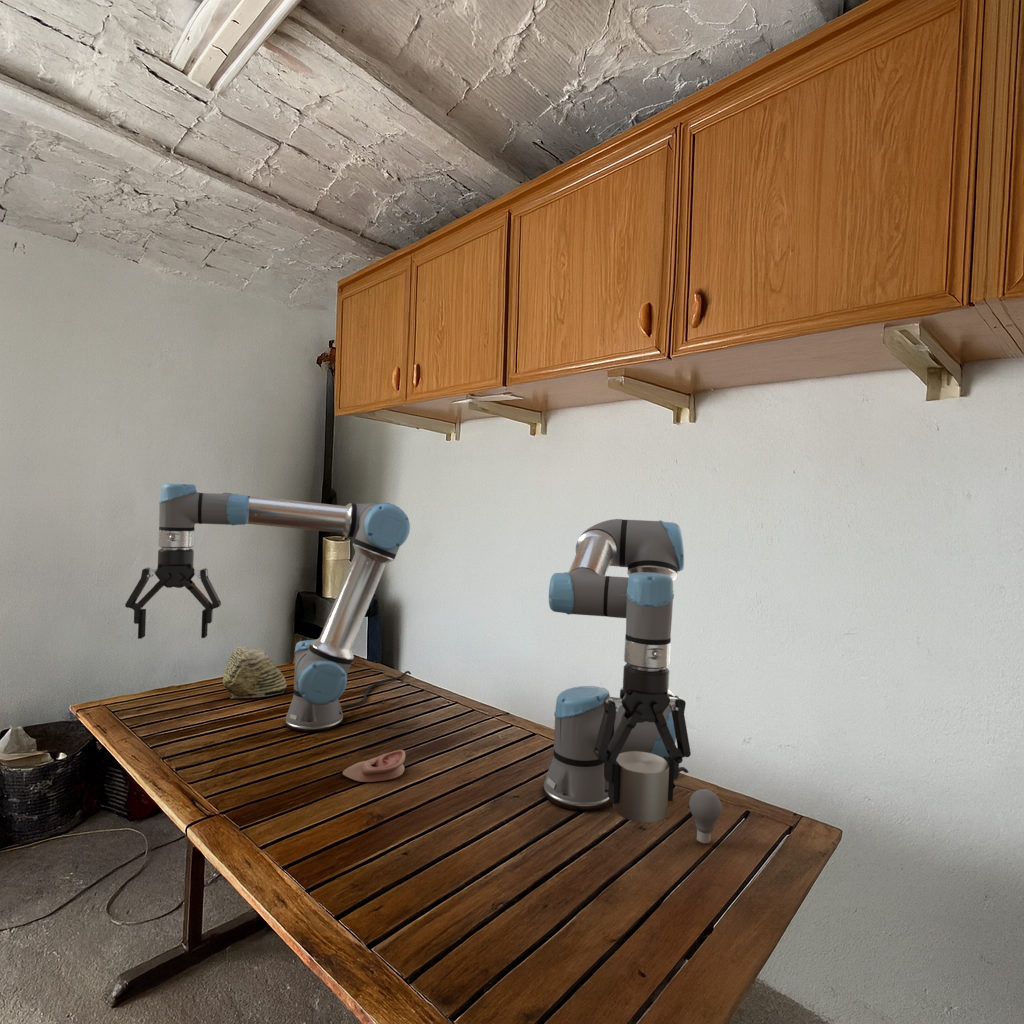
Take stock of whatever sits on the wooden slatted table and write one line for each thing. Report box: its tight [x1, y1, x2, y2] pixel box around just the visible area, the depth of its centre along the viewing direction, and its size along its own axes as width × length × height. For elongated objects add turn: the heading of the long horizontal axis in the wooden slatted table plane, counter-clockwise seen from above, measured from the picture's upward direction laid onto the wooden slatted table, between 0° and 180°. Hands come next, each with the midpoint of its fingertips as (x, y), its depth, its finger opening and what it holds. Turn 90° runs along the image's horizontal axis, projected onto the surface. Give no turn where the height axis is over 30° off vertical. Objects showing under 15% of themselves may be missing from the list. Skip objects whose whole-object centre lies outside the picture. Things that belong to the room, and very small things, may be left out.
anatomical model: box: [342, 749, 406, 783], centre depth 146 cm, size 13×4×12 cm
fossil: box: [222, 646, 288, 699], centre depth 198 cm, size 9×18×15 cm, turn 132°
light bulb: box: [688, 788, 723, 844], centre depth 122 cm, size 6×6×10 cm
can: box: [612, 751, 669, 824], centre depth 106 cm, size 9×9×8 cm
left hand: (173, 637), depth 151 cm, fingers open, 13 cm apart
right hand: (640, 798), depth 107 cm, fingers closed on can, 9 cm apart
